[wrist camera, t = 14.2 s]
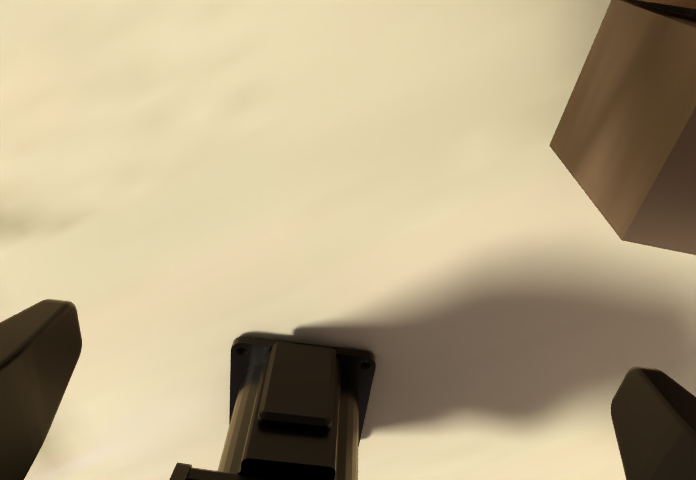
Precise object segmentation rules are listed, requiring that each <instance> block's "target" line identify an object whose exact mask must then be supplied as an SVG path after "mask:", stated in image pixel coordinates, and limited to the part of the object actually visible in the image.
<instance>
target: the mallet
mask: <svg viewBox="0 0 696 480" xmlns="http://www.w3.org/2000/svg"><path fill="white" fill-rule="evenodd" d="M550 147H551V148H552V150H553V151H554V152H555V153H556V155H557V156H558V157H559V159H560V160H561V161H562V163H563V164H564V165H565V167H566V168H567V169H568V170H569V172H570V173H571V174H572V176H573V177H574V178H575V180H576V181H577V182H578V184H579V185H580V186H581V188H582V189H583V190H584V191H585V193H586V194H587V195H588V197H589V198H590V199H591V201H592V202H593V203H594V205H595V206H596V207H597V208H598V210H599V211H600V212H601V214H602V215H603V216H604V218H605V219H606V220H607V222H608V223H609V224H610V225H611V227H612V228H613V229H614V231H615V232H616V233H617V235H618V236H619V237H620V239H621V240H623V241H628V242H633V243H638V244H643V245H648V246H653V247H658V248H663V249H668V250H673V251H678V252H683V253H688V254H693V255H696V17H692V16H688V15H684V14H680V13H676V12H672V11H667V10H663V9H659V8H655V7H651V6H646V5H642V4H638V3H634V2H630V1H625V0H611V3H610V5H609V7H608V10H607V12H606V14H605V17H604V19H603V21H602V24H601V26H600V28H599V31H598V33H597V36H596V38H595V40H594V43H593V45H592V47H591V50H590V52H589V54H588V57H587V59H586V61H585V64H584V66H583V68H582V71H581V73H580V75H579V78H578V80H577V82H576V85H575V87H574V89H573V92H572V94H571V96H570V99H569V101H568V103H567V106H566V108H565V110H564V113H563V115H562V117H561V120H560V122H559V124H558V127H557V129H556V131H555V134H554V136H553V138H552V141H551V143H550Z"/></svg>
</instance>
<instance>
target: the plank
mask: <svg viewBox="0 0 696 480" xmlns="http://www.w3.org/2000/svg"><path fill="white" fill-rule="evenodd" d="M638 1H645V2H652V3H659V4H666V5H673V6H680V7H687V8H693V9H696V0H638Z"/></svg>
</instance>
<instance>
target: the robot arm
mask: <svg viewBox="0 0 696 480" xmlns="http://www.w3.org/2000/svg"><path fill="white" fill-rule="evenodd" d="M240 347H244V348H246V349H241V348H240ZM81 348H82V338H81V332H80V326H79V321H78V315H77V310H76V307H75V305H74V304H73V303H72V302H69V301H62V300H53V299H46V300H43V301H41V302H39V303H37V304H35V305H33V306H31V307H29V308H27V309H25V310H23V311H22V312H20V313H18V314H16V315H14V316H12V317H10V318H8V319H6V320H4V321H2V322H1V323H0V480H24V478H25V476H26V475H27V473H28V471H29V469H30V467H31V465H32V464H33V462H34V460H35V458H36V456H37V454H38V452H39V450H40V448H41V447H42V445H43V443H44V440H45V438H46V436H47V434H48V431H49V429H50V427H51V424H52V422H53V419H54V417H55V415H56V412H57V410H58V407H59V405H60V402H61V400H62V398H63V395H64V393H65V390H66V388H67V385H68V383H69V381H70V378H71V376H72V373H73V371H74V368H75V366H76V364H77V361H78V359H79V356H80V353H81ZM362 361H367V363H362ZM374 371H375V356H374V354H373V353H371V352H369V351H364V350H355V349H347V348H338V347H329V346H320V345H312V344H303V343H294V342H285V341H277V340H268V339H259V338H251V337H238V338H236V339H235V340H234V341H233V345H232V348H231V371H230V422H229V430H228V433H227V437H226V441H225V445H224V449H223V453H222V456H221V460H220V464H219V468H218V471H213V470H206V469H199V468H192V465H190V464H183V463H177V464H176V466H175V469H174V471H173V473H172V475H171V478H170V480H358V446H359V442H360V437H361V433H362V428H363V423H364V419H365V414H366V409H367V404H368V400H369V395H370V390H371V385H372V381H373V376H374ZM611 416H612V421H613V425H614V429H615V433H616V438H617V442H618V446H619V450H620V455H621V459H622V463H623V467H624V472H625V476H626V480H696V397H695V396H694V395H692V394H691V393H690V392H688V391H687V390H686V389H684V388H683V387H682V386H680V385H679V384H678V383H677V382H675V381H674V380H673V379H671V378H670V377H669V376H667V375H666V374H665V373H663V372H662V371H660V370H657V369H652V368H643V367H633V368H632V369H630V370H629V371H628V373H627V374H626V376H625V378H624V380H623V382H622V384H621V385H620V387H619V389H618V391H617V393H616V394H615V396H614V398H613V400H612V404H611Z"/></svg>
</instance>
